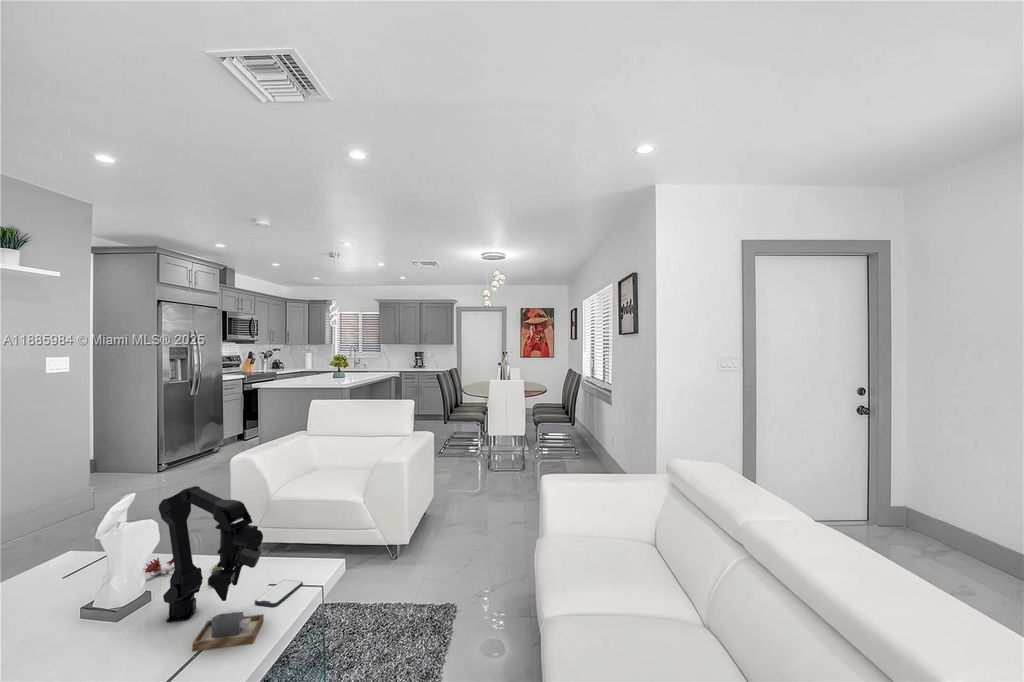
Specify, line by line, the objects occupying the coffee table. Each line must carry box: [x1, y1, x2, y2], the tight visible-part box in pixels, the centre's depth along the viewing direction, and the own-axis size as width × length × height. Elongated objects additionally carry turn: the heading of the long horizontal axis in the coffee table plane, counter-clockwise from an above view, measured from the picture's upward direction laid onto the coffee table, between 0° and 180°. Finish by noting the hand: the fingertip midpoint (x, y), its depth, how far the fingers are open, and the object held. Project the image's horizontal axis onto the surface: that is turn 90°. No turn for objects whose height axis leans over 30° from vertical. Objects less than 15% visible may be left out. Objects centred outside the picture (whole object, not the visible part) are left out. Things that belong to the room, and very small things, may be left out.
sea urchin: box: [201, 564, 224, 578], centre depth 174 cm, size 12×12×8 cm
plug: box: [211, 611, 251, 638], centre depth 145 cm, size 10×4×5 cm, turn 103°
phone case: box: [254, 579, 303, 608], centre depth 169 cm, size 9×2×16 cm
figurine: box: [144, 557, 174, 578], centre depth 182 cm, size 15×12×7 cm
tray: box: [191, 614, 265, 652], centre depth 145 cm, size 16×11×2 cm
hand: (229, 592), depth 148 cm, fingers open, 9 cm apart
